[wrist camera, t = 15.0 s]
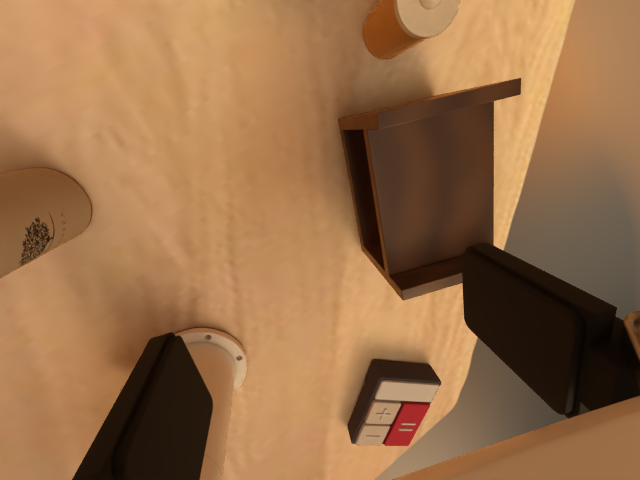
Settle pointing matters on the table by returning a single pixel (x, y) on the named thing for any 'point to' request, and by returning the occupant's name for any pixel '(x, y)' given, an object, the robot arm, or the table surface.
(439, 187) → the shelf
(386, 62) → the table surface
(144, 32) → the table surface
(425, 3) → the canister
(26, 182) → the travel mug
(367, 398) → the calculator
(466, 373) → the table surface
